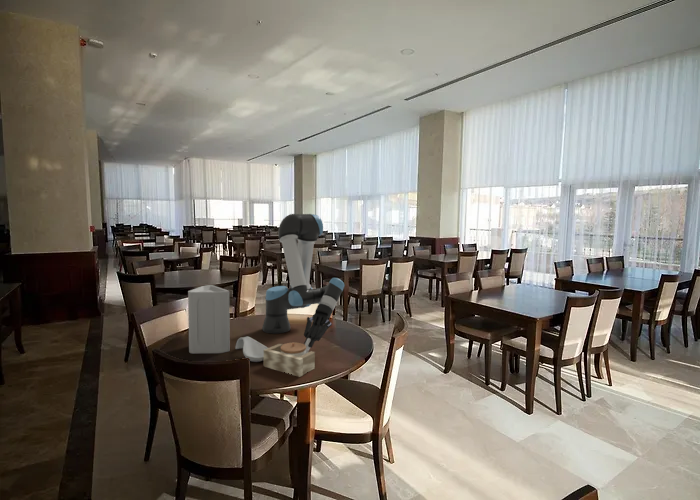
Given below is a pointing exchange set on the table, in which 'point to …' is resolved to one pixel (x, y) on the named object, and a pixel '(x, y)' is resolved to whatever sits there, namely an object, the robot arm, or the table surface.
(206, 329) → the grey triangular prism
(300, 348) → the lidded jar
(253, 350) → the spoon rest
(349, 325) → the table surface
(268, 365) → the open wooden box
